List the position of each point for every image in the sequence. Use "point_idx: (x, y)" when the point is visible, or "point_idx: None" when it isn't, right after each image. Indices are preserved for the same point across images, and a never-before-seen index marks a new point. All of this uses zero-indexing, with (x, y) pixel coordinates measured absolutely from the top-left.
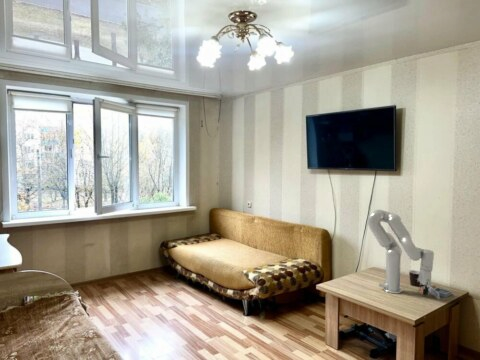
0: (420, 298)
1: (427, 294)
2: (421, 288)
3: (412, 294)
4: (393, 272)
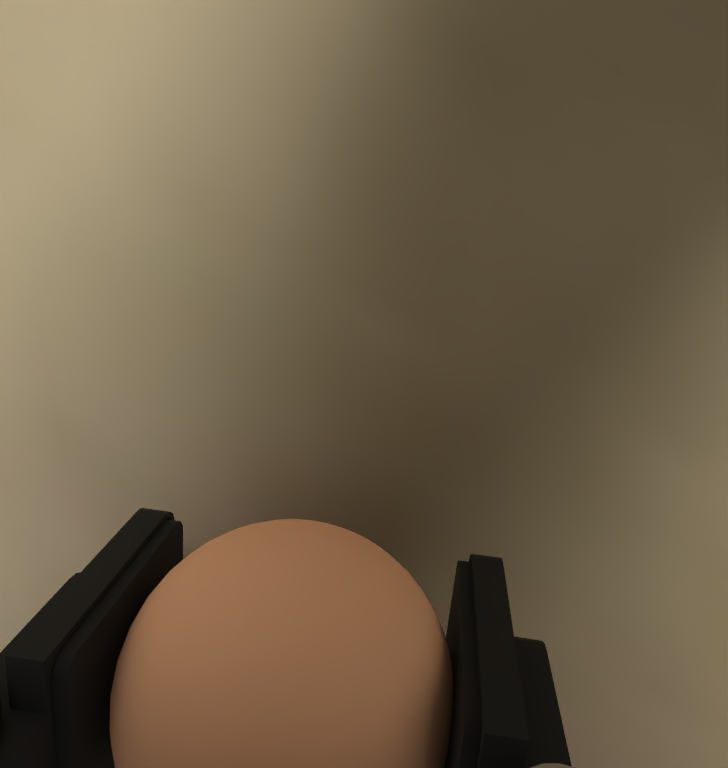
0: (96, 338)
1: None
2: (214, 618)
3: (447, 224)
4: None
